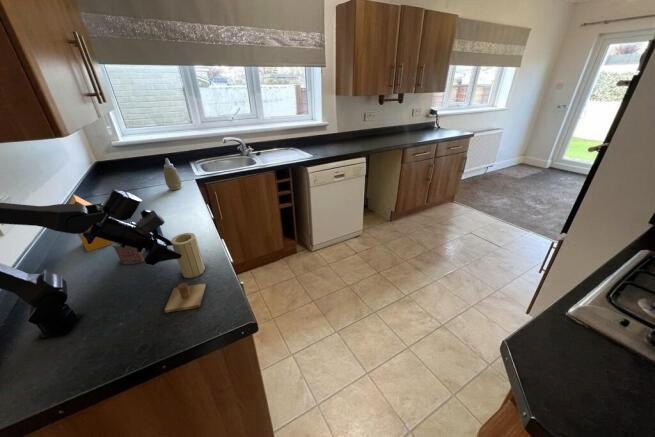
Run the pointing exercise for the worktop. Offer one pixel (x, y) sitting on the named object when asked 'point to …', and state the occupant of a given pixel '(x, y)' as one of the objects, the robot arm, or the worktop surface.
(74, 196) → the orange juice
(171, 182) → the squeeze bottle
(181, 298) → the stand
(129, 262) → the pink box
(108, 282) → the worktop surface
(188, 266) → the cream hollow cylinder
